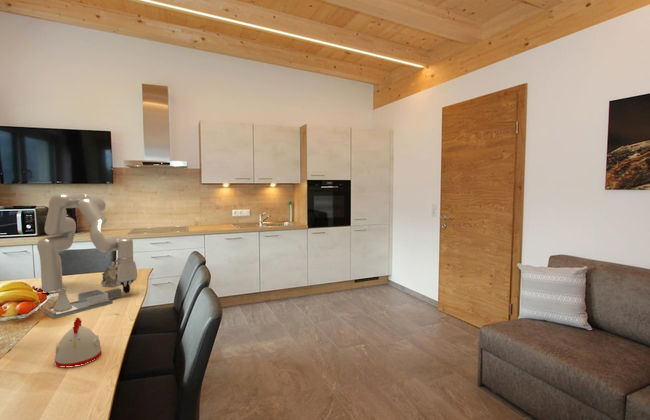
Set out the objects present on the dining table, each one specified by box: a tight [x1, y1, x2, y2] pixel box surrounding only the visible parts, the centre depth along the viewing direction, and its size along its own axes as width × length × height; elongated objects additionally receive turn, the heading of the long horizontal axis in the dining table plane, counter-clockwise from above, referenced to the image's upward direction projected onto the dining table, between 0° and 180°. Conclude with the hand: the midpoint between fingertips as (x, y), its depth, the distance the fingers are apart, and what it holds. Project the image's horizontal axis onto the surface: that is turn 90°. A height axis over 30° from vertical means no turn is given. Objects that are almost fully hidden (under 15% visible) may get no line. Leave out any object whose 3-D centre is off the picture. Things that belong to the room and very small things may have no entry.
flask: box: [53, 288, 72, 312], centre depth 172 cm, size 7×7×10 cm
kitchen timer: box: [54, 317, 102, 367], centre depth 129 cm, size 14×14×15 cm
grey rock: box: [100, 261, 127, 288], centre depth 218 cm, size 16×16×15 cm
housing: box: [77, 287, 122, 306], centre depth 187 cm, size 12×18×4 cm, turn 145°
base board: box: [42, 299, 114, 319], centre depth 178 cm, size 13×26×2 cm, turn 145°
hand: (126, 292), depth 197 cm, fingers closed
